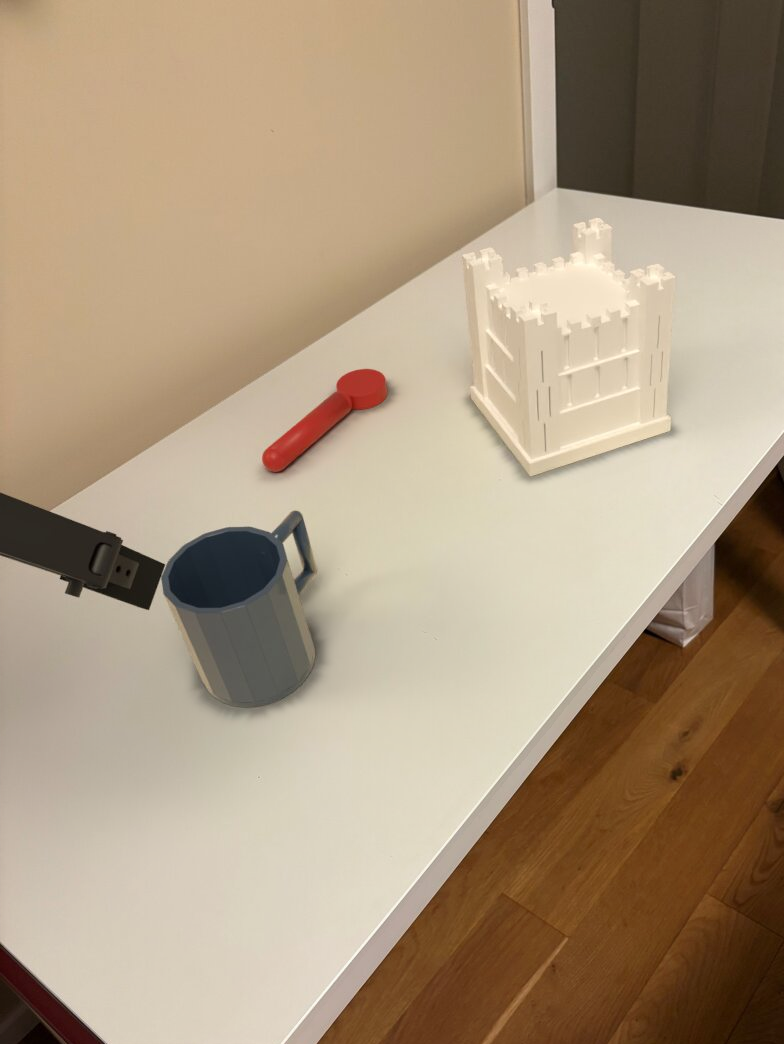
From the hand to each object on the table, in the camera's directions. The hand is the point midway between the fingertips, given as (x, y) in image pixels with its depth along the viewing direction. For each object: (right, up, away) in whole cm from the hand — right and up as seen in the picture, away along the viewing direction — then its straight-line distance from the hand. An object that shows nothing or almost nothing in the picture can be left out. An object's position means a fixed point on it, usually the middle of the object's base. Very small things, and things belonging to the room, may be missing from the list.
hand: (57, 558), depth 55 cm
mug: (+9, -6, +19) cm, 21 cm away
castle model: (+34, +15, +36) cm, 52 cm away
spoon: (+11, +15, +39) cm, 43 cm away
